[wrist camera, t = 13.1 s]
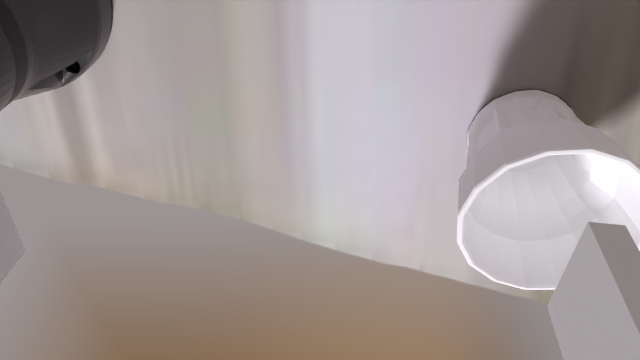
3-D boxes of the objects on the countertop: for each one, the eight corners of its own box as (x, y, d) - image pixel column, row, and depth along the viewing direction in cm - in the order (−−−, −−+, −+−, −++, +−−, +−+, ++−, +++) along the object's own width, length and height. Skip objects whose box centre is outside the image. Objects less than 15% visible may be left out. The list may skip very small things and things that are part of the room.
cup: (412, 157, 45) (419, 248, 36) (507, 35, 37) (544, 112, 29) (529, 215, 47) (562, 313, 38) (639, 111, 40) (710, 203, 31)
